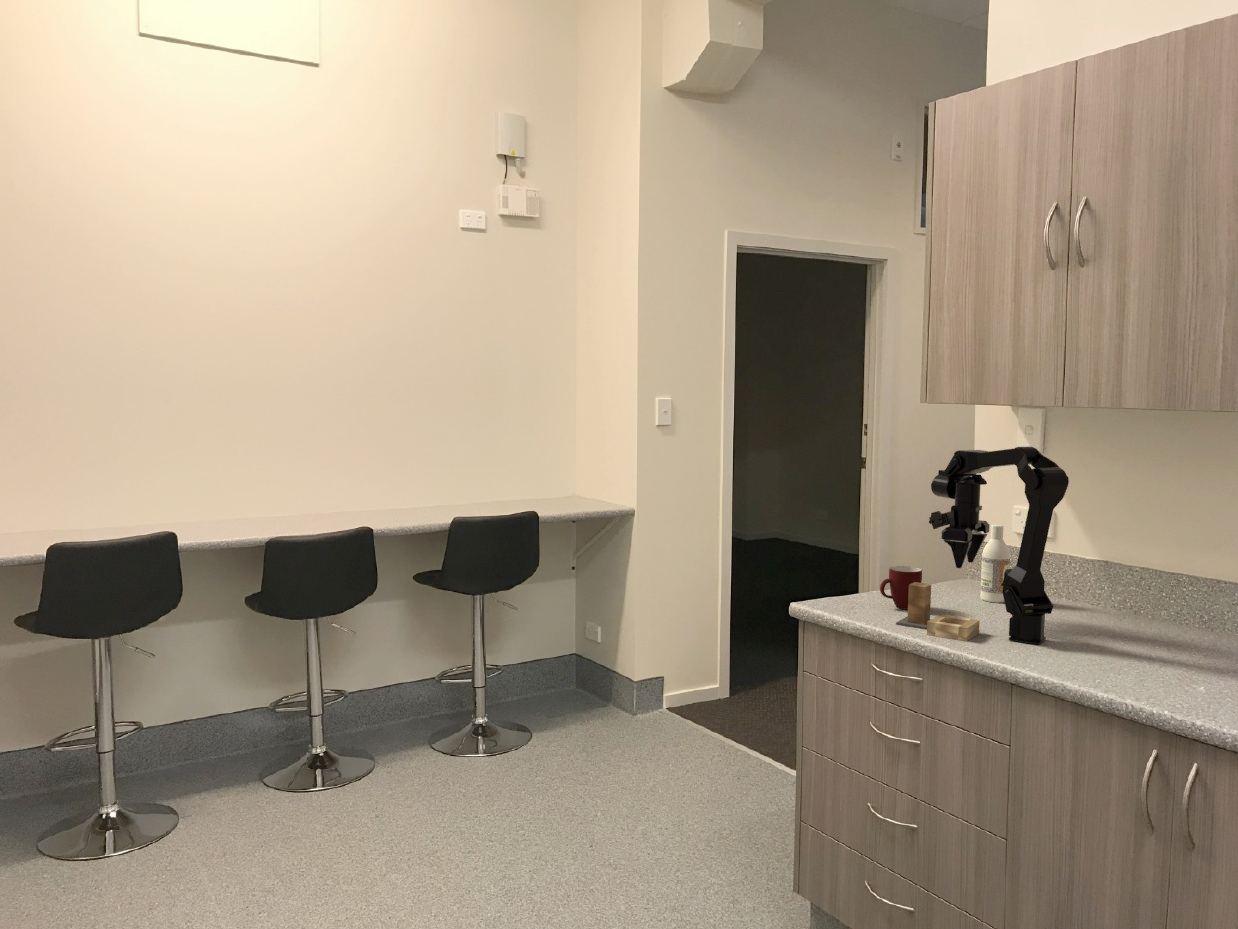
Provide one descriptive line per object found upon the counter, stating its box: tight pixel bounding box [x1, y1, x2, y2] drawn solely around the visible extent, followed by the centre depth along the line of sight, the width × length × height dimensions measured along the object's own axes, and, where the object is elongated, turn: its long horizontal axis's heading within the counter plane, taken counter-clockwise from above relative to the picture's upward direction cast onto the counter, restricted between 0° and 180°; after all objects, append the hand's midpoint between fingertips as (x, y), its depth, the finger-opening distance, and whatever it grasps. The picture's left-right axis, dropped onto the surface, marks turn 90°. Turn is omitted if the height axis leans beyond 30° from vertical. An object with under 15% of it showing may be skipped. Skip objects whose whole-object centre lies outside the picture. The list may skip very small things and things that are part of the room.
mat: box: [895, 615, 931, 630], centre depth 234 cm, size 8×8×1 cm
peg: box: [907, 582, 932, 625], centre depth 234 cm, size 4×4×9 cm
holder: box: [926, 614, 980, 642], centre depth 225 cm, size 9×9×3 cm
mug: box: [879, 565, 923, 610], centre depth 250 cm, size 11×8×10 cm
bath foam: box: [979, 524, 1011, 604], centre depth 258 cm, size 7×7×20 cm
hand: (964, 565), depth 239 cm, fingers open, 9 cm apart
